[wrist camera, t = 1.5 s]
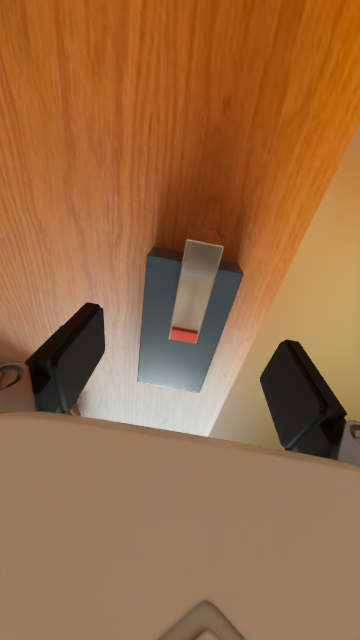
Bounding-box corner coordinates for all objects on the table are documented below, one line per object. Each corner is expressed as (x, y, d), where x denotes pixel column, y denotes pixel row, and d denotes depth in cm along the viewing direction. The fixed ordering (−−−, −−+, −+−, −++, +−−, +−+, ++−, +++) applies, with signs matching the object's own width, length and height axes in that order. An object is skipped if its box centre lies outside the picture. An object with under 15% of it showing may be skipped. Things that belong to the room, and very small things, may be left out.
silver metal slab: (189, 226, 16) (186, 239, 12) (218, 231, 16) (225, 247, 12) (174, 308, 21) (167, 340, 16) (196, 312, 21) (196, 345, 16)
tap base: (153, 246, 20) (146, 254, 18) (238, 263, 21) (244, 273, 18) (142, 366, 30) (137, 382, 28) (199, 376, 31) (199, 393, 28)
